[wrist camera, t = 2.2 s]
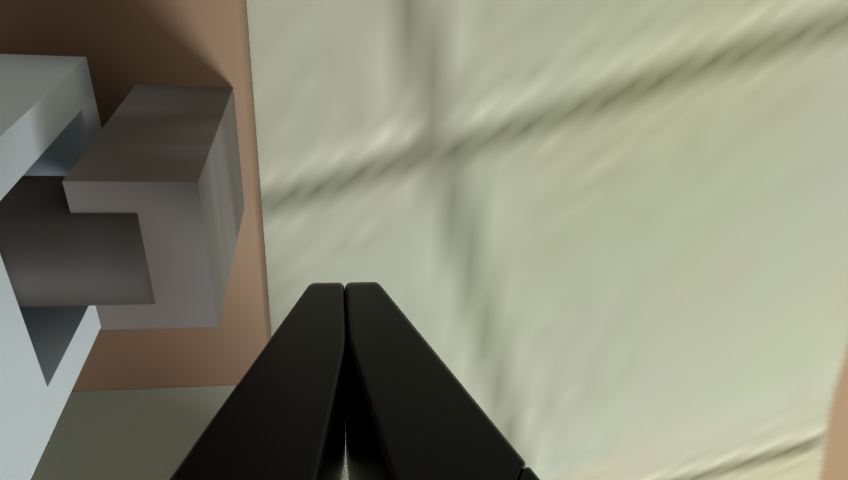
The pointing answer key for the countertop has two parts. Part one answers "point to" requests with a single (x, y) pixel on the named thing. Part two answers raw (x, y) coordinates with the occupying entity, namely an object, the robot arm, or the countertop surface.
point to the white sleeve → (3, 318)
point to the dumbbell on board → (148, 192)
